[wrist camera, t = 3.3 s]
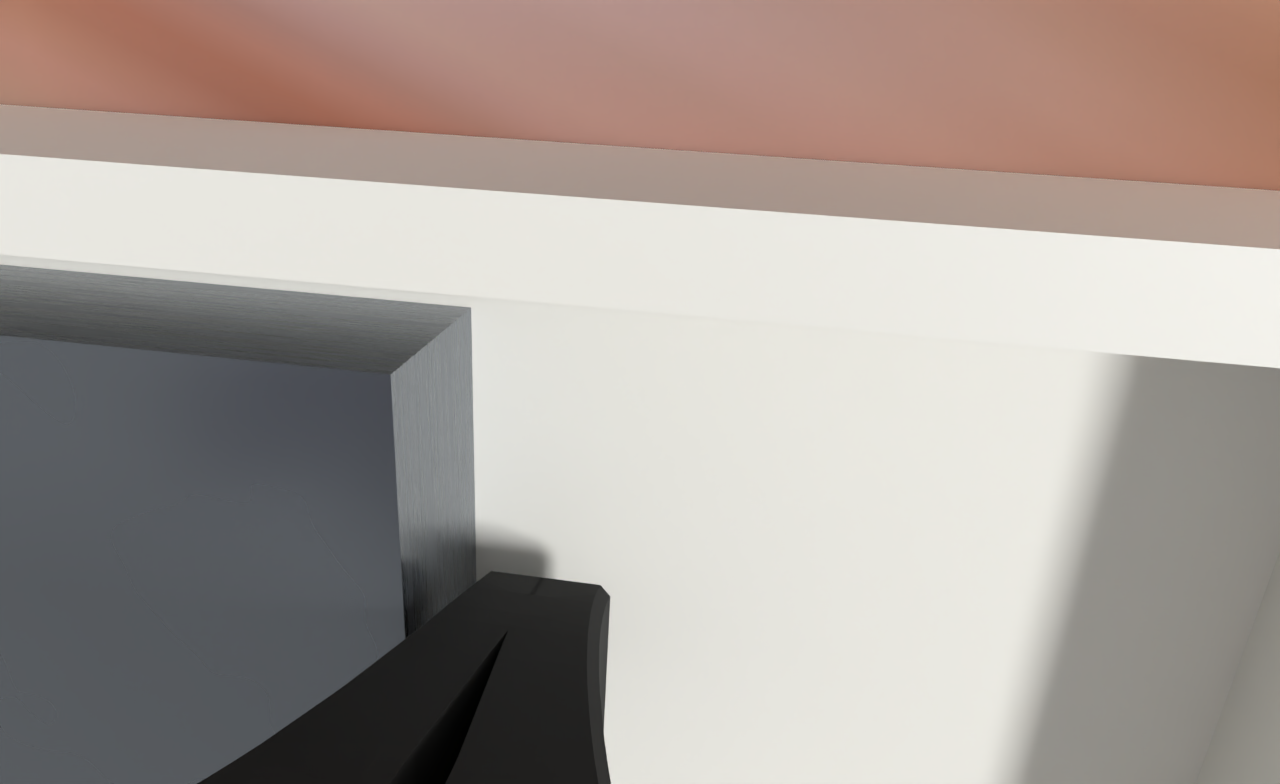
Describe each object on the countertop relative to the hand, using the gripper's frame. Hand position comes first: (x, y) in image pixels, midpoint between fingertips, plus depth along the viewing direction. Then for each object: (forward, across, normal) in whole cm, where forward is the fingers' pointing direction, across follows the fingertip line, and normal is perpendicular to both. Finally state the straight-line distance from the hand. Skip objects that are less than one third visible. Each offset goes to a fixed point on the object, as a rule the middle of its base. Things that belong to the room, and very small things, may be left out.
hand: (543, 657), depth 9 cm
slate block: (+1, +5, 0) cm, 5 cm away
